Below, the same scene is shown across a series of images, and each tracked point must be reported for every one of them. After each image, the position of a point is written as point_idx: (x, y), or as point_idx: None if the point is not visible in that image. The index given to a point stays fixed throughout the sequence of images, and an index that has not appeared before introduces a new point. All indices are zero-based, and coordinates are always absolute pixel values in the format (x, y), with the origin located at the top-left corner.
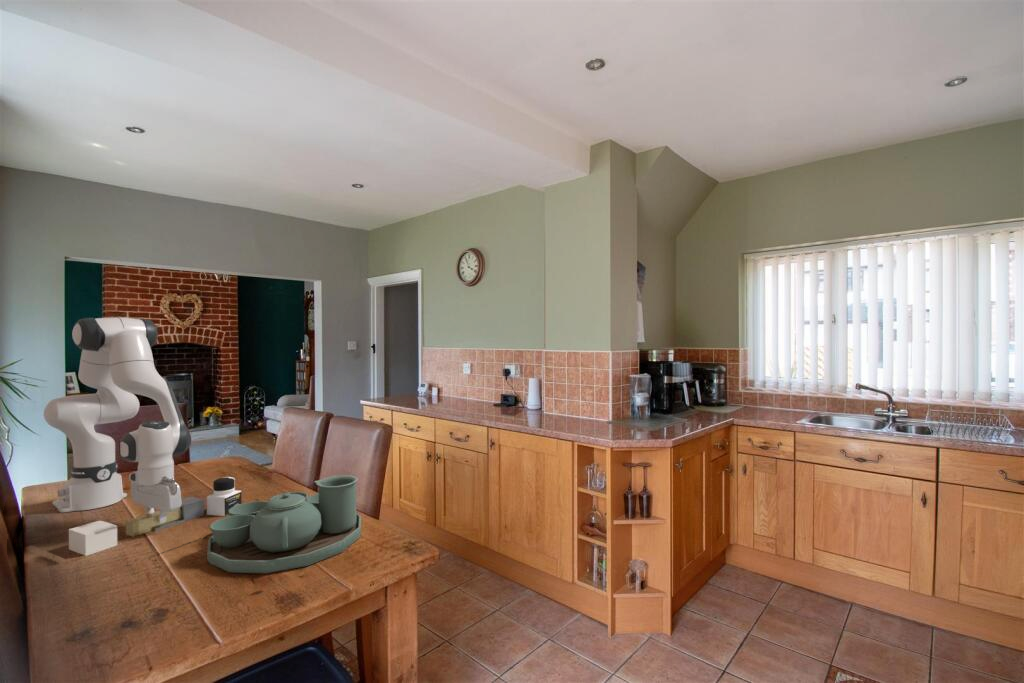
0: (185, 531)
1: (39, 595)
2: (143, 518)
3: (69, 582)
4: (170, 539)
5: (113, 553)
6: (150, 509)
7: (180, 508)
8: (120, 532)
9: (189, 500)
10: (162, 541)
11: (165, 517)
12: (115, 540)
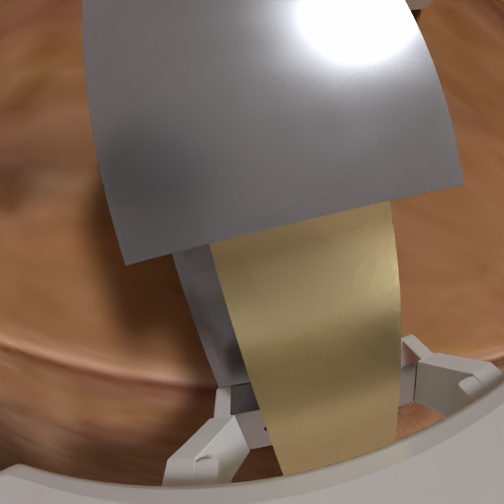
0: (461, 220)
1: None
2: None
3: None
4: (486, 304)
5: None
6: (220, 460)
7: (388, 205)
8: (171, 445)
9: (275, 33)
10: (476, 334)
11: (426, 352)
12: None
